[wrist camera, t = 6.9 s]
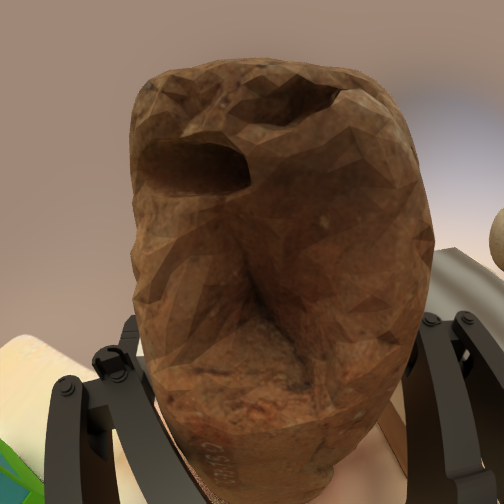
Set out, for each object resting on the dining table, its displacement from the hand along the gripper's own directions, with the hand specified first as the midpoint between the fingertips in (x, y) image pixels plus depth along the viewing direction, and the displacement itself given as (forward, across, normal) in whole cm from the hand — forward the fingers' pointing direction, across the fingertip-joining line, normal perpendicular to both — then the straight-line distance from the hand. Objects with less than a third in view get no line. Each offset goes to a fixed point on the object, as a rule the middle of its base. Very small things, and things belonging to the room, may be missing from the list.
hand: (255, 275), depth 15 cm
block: (-5, 0, -11) cm, 12 cm away
